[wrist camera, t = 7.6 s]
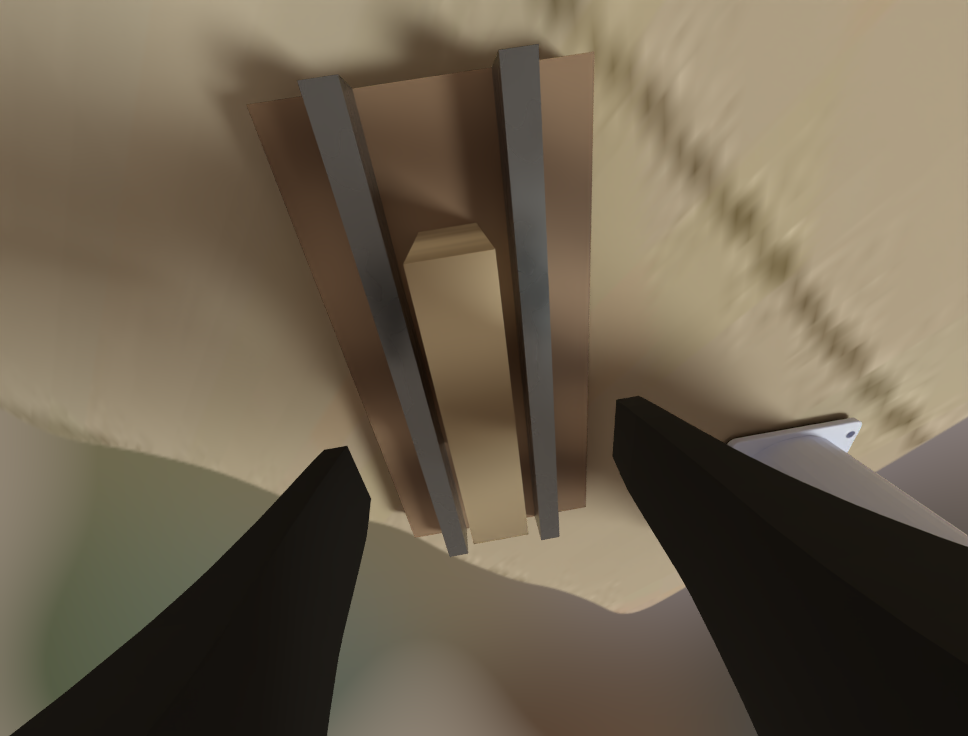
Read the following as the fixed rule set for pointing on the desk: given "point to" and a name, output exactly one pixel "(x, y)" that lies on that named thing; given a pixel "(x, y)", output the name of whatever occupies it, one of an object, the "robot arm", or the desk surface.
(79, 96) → the desk surface
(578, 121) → the track board
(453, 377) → the wooden block
